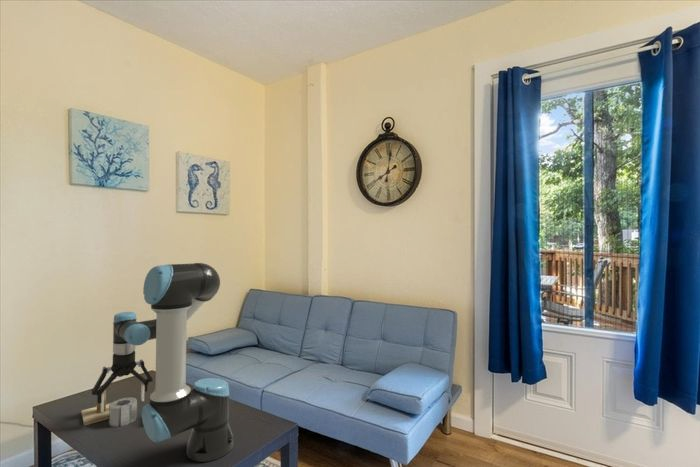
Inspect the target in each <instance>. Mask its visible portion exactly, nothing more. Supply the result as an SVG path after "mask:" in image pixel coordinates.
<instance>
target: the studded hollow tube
mask: <svg viewBox="0 0 700 467" xmlns="http://www.w3.org/2000/svg"><path fill="white" fill-rule="evenodd" d="M110 403H111V404H110V405H109V419H108V424H109V426H110V427H111V428H112V427H115V428H118V427H123V426H127V425H130V424H132V423H134V422H135V421H136V420H137V418H138V399H137V398H136V397H131V396H130V397H123V398H119V399H117V400H113V401H112V402H110Z"/></svg>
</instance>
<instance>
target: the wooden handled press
mask: <svg viewBox="0 0 700 467" xmlns="http://www.w3.org/2000/svg"><path fill="white" fill-rule="evenodd" d="M99 389H100V388H99ZM99 389H98V390H99ZM103 393H104V412H101V410H100V407H101V403H99V404H98V402H97V401H96V406H94V407H89V408H86V409H82V410H81V413H80V414H81V417H82V423H83V426H84V427H85V426H88V425H91V424H95V423H98V422H102V421H105V420H109V405H110V404H111V403H112V402H109V403H107V401H106V400H107V389H106V390H105V391H104V392H103Z"/></svg>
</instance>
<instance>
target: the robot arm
mask: <svg viewBox="0 0 700 467" xmlns="http://www.w3.org/2000/svg"><path fill="white" fill-rule="evenodd" d="M220 287H221V279H220V275H219V273H218V272H217V270H216V269H215V268H214V267H213V266H211V265H209V264H207V263H202V262H195V263H174V264H173V263H172V264H170V263H168V264H163V265H162V264H161V265H155V266H154V267H152V268H151V269H150V270H149V271H148V272H147V273H146V276H145V278H144V282H143V299H144V301H145V303H147V304H148V305H150V309H151V311H153V312H154V313H156V318H155V319H149V320H142V321H137V313H135V312H134V311H124V312H118V313H115V315H114V316H113V322H112V325H113V326H112V328H113V329H112V331H113V332H112V338H113V340H112V365H111V366H108V367H106V366H103V367H102V371H101V374H100V375H99V377H98V379H97V381H96V382H95V384H94V385H93V388H92V390H91V394H92V396H96V403H97V402H98V404H99V403H101V407H100V410H101V412H104V393H103V392H104V391H105V390H106V391H107V388H108V387H109V386H110V385H111V384H112V383H113V382H114V380H116V379H117V378H118V377H119V378H120V377H121V378H122V377H124V376H129V375H130V374H131V375H133V376H134V377H135V378H136V379H138V381H140V382H141V383H140V400H141V402H145V393H147V392H148V386H149V384H150V382H151V383H152V382H153V381H154V380H153V378H152V376H151V374H150V373H149V371H148V369H147V368H146V366H145V361H144V360H143V359H140V360H139V361H136V351H135V350H136V346H141V345H143V344H145V343H146V342H147V341H151V340H155V386H154V387H155V388H154V389H153V391H152V392H151V393H150V394H149V403H145V405H144V406H142V409H141V420H142V425H143V428H144V430H145V432H146V435H147V437H148V438H149V439H150V440H151V441H152V442H154V443H159V442H162V441H165V440H170V439H171V438H173V437H174V436H177V435H180V434H181V433H184V432H187V431H189V430H191V429H192V430H191V433H190V435H189V438H188V441H187V444H186V456H187V458H188V459H190V460H191V461H194V462H199V463H200V462H201V463H202V462H203V463H205V462H211V461H215V460H218V459H220V458H222V457H224V456H226V455H227V454H228V453H230V452H231V450H232V449H233V447H234V435H233V432H232V429H231V425H230V422H229V421H230V420H229V413H230V412H229V411H230V409H229V408H230V404H229V403H230V395H231V393H230V388H229V386H230V385H229V383H228V382H227V381H226V380H224V379H223V378H222V379H221V378H215V377H210V378H209V377H208V378H202V379H198V380H196V381H195V382H193V385H192V388H191V387H190V386H189V385H187V384H186V382H187V379H186V378H187V324H188V323H187V321H188V320H190V318H191V317H192V316H193V315H194V314H195V312H197V311H198V310H199V309H200V308H201V307H202V306H203V305H204V303H206V302H209V301H211V300H212V299H213V298H214V297H215V296H216V295H217V293H218V292H219V289H220ZM137 366H138V367H140V368H141V370H142V371H143V373H144V374H145V376H146V378H145V377H144V376H142V374H140V373H139V372H137V371H136V370H135V368H136V367H137ZM110 371H111V372H112V373H111V374H110V376H109V377H108V378H107V377H106V376H107V374H109V373H110ZM106 378H107V379H106ZM105 379H106V380H105ZM104 380H105V382H104ZM103 382H104V383H103ZM102 383H103V384H102ZM98 389H99V390H98Z"/></svg>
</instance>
